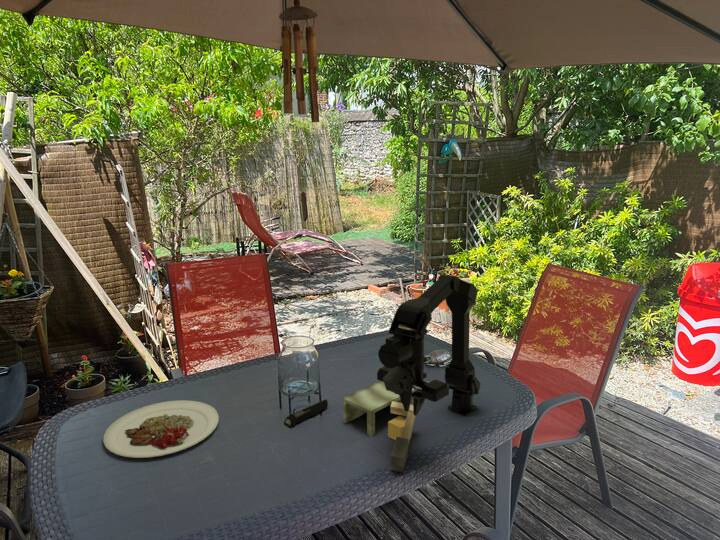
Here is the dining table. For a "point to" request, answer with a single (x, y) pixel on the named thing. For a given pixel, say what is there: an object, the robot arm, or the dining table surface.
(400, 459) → the crook tool
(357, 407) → the sage cubby
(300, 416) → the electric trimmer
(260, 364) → the dining table surface
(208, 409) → the plated food
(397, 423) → the ochre cube
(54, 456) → the dining table surface
